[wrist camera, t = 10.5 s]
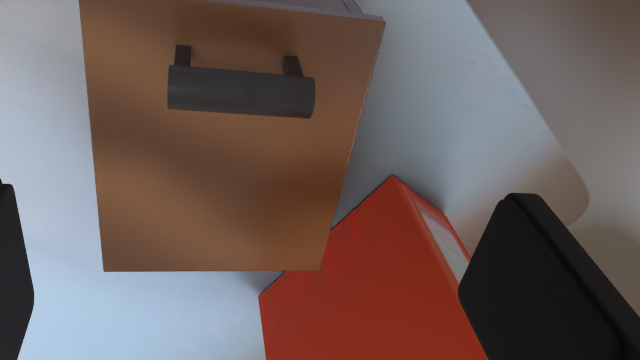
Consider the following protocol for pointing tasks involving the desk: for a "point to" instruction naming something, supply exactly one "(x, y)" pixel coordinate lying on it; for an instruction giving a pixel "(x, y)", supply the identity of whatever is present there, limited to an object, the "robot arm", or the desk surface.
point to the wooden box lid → (221, 129)
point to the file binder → (376, 289)
